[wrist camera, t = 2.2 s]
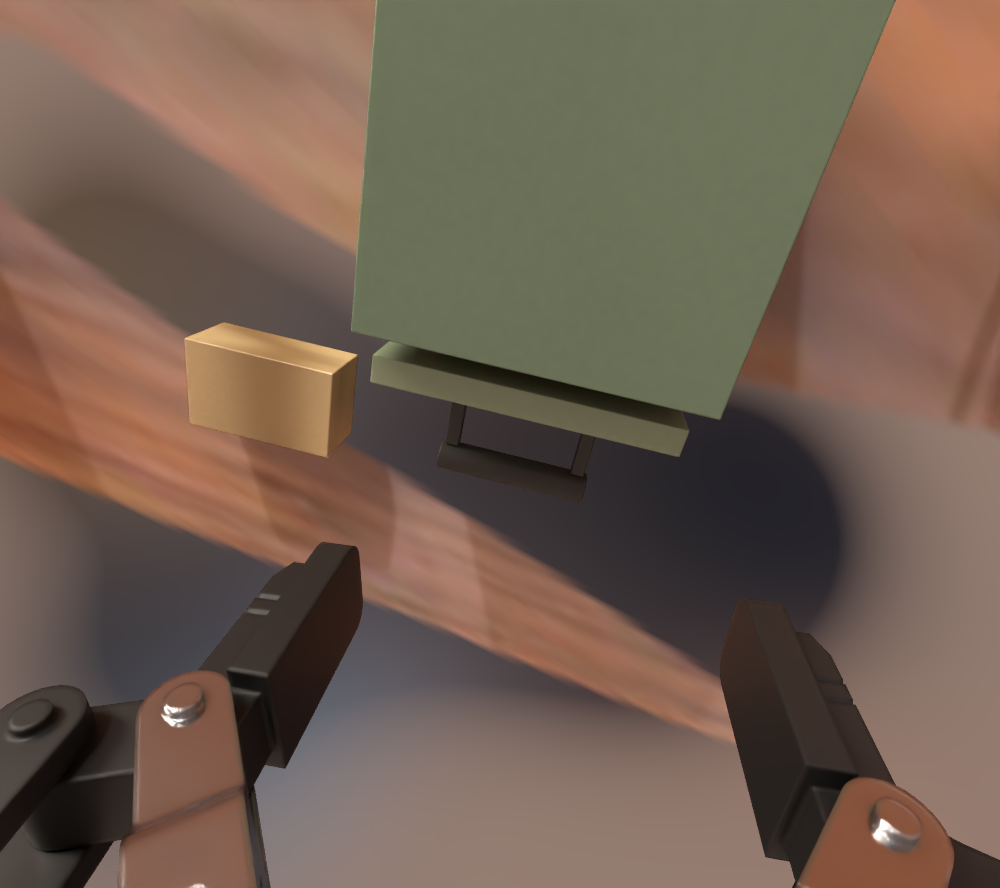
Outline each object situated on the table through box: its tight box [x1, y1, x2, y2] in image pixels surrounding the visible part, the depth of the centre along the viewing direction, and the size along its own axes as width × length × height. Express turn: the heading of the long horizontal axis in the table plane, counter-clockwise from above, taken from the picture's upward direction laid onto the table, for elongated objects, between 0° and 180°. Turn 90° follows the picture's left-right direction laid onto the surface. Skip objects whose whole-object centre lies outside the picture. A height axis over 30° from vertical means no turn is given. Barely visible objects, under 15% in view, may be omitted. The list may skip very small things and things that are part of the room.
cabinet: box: [351, 0, 896, 420], centre depth 21 cm, size 16×14×10 cm
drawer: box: [370, 341, 689, 502], centre depth 23 cm, size 19×13×8 cm, turn 169°
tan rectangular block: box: [185, 323, 358, 458], centre depth 31 cm, size 8×5×4 cm, turn 79°
